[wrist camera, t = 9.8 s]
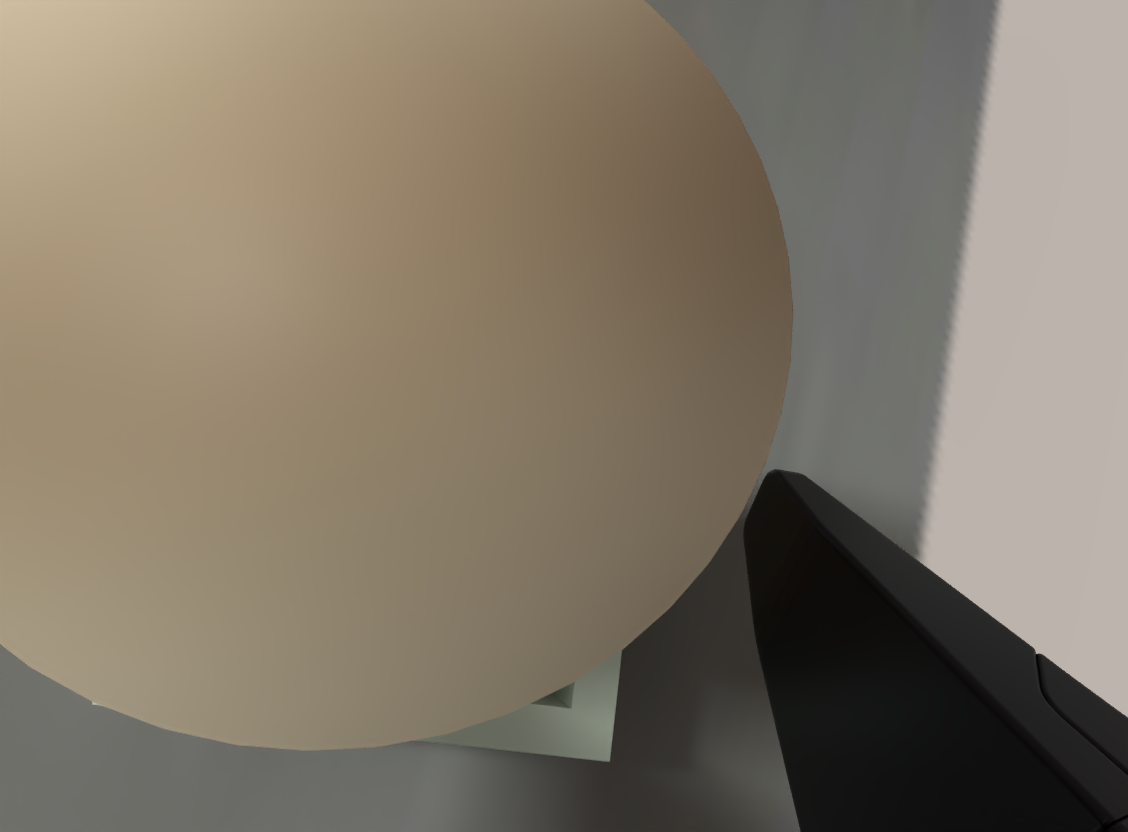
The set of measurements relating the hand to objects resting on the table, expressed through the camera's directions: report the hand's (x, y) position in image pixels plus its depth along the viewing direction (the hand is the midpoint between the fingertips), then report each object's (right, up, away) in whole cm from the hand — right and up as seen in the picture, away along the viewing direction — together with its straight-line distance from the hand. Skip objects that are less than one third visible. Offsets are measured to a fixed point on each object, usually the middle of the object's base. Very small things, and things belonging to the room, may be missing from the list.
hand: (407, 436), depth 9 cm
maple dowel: (-1, -2, +8) cm, 8 cm away
